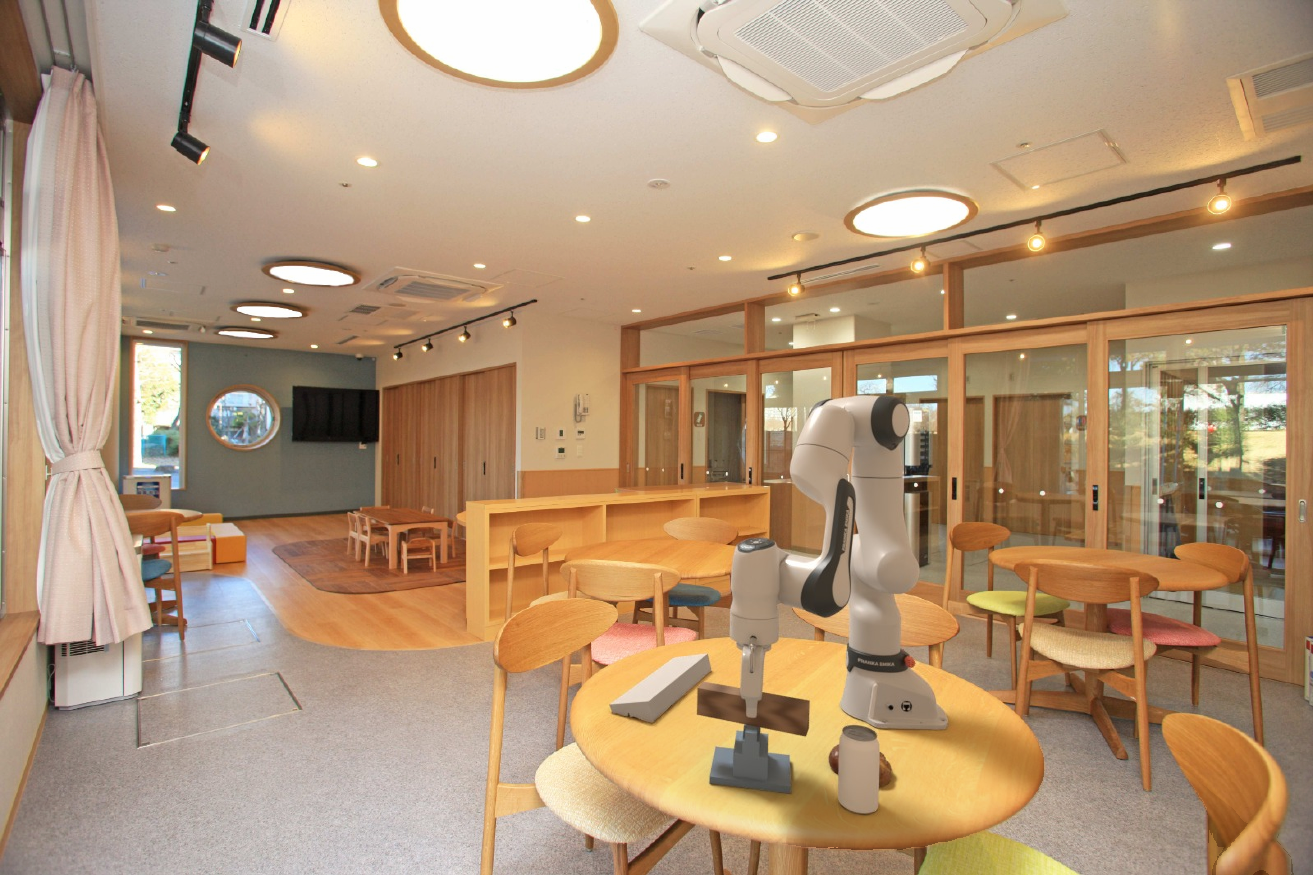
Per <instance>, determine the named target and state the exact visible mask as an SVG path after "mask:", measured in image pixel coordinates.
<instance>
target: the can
mask: <svg viewBox="0 0 1313 875" xmlns="http://www.w3.org/2000/svg"><path fill="white" fill-rule="evenodd" d="M838 739H839V743H838V744H839V771H838V775H837V776H838V781H837V782H838V783H837V785H838V787H837V799H838V802H839V803H840V805H841V806H842V807H843V808H844V809H845V810H847V811H849V812H851V813H854V814H858V815H870V814H873V813H875V812H876V811H877V810H878V808H879V791H880V790H879V789H880V788H879V787H880V786H879V758H880V752H881V750H880V748H881V747H880V745H881V744H880V741H879V740H878V734H877V732H876V731H875V730H874V729H873V728H870V727H868V726H865V725H861V724H859V725H858V724H849V725H848V724H847V725H845V726H844V727H842V729H841V734H840V736H839V738H838Z"/></svg>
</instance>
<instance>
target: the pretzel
mask: <svg viewBox="0 0 1313 875" xmlns="http://www.w3.org/2000/svg"><path fill="white" fill-rule="evenodd" d="M828 765H829V767H830V769H831V770H832V771H833V772H834V773H836V774H838V771H839V743H838V744H836V745H835V746H833V748H832V749H831V750H830V751H829V754H828ZM892 770H893V769H892V765H891V763H890V762H889V761H888V760H887V758H886V756H885V754H884V753H883V752H882V751H880V758H879V787H883V786H887V785H888V784H889V783H890V782H891V781H892V780H891V779H892V776H891V773H892Z"/></svg>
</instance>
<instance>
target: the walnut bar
mask: <svg viewBox="0 0 1313 875" xmlns="http://www.w3.org/2000/svg"><path fill="white" fill-rule="evenodd" d="M696 693H697V696H696V716H701V717H706V718H707V717H708V718H711V719H712V718H713V719H717V720H721V721H727V722H731V723H737V724H741V725H744V724H745V725H750V726H755V727H760V728H761V729H765V730H771V731H775V732H780V733H785V734H792V735H795V736H800V737H804V738H805V737H807V735H808V733H809V729H810V708H811V707H810V706H811V705H810V699H809V700H808V699H804V698H797V697H793V696H786V695H781V694H775V693H769V692H763V691H762V698H761V700H758V702H757V716H756V717H755V718H751V717H747V715H746V700H745V699H742V698H741V694H740V687H738V686H737V687H735V686H730V685H726V684H725V685H724V684H721V683H720V684H719V683H713V682H707V681H705V680H704V681H702V682H701V683H700V684H699V686H698V687H697V692H696Z"/></svg>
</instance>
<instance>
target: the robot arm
mask: <svg viewBox="0 0 1313 875" xmlns="http://www.w3.org/2000/svg"><path fill="white" fill-rule="evenodd" d="M910 424H911V418H910V412H909V408H908V406H907V405H906V403H905V402H904V401H903V400H902V399H901V398H899V397H896V396H893V395H887V394H886V395H885V394H882V395H865V394H864V395H863V394H862V395H860V394H859V395H853V396H846V397H840V398H828V399H822V400H819V401H818V402H816V403H815V404H814V405H813V406H812V408H811V409H810V411H809V412H808V418H807V419H806V421H805V423H804V425H803V427H802V430H801V431H800V434H799V436H798V438H797V441H796V445H795V448H794V451H793V454H792V456H791V460H790V464H789V474H790V478H791V480H792V482H793V484H794V486H795V487H796V489H797V490H798V491H799V492H801V493H802V494H803V495H805V496H806V497H808V498H809V499H811V500H812V501H814V502H816V503H817V504H818V505H821V506H822V507H823V509H824V510H825V516H826V517H825V526H824V535H823V542H822V550H821V554H820V555H819V556H818V557H815V558H814V557H810V556H804V555H800V554H799V555H798V554H796V553H791V552H788V551H785V550H783V549H781V548H780V547H779V546H778V545H777V542H776V541H775V540H773V539H770V538H767V537H754V538H752V537H751V538H746V539H744V540H742V541H740V542H738V543H737V544H736V546H735V549H734V553H733V556H732V561H731V562H732V563H731V570H730V571H731V572H730V591H731V595H732V602H731V605H730V608H729V638H730V639H731V640H732V641H734V642H735V644H736V648H738V649H739V650H741V651H742V652H741V658H740V660H741V661H740V683H739V685H740V687H739V688H740V694H741V698H742V699H745V700H746V715H747V717H751V718H755V717H756V716H757V702H758V700H761V698H762V692H763V688H764V674H765V672H764V670H765V669H764V668H765V659H766V653H767V652H770V651H771V649H772V645H774V644H776V643H778V641H779V639H780V638H779V634H780V633H779V630H780V610H779V606H778V604H782V605H785V606H788V607H791V608H795V609H800V610H802V611H805V612H808V613H810V614H813V615H816V616H818V617H821V618H825V619H827V618H831V617H832V616H834V615H837V614H838V613H840V612H841V611H842V610H844V608H846V606H847V605H848V611H849V612H848V614H849V616H848V620H849V621H848V623H849V624H848V627H849V628H848V643H847V644H846V650H845V668H846V677H845V678H846V679H845V685H844V688H843V693H842V697H841V700H840V703H839V707H840V708H841V709H842V711H844V712H845V713H846V714H847V715H849V716H851V717H854V718H855V719H858V720H861V721H864V722H865V723H867V724H869V725H871V726H873V727H874V728H877V729H898V730H899V729H902V730H903V729H905V730H907V729H908V730H945V729H947V728H948V727H949V718H948V716H947V713H946V711H945V710H944V709H943V708H942V707H941V706H940V705H939V704H938V703H937V698H936V695H935V692H934V690H933V688H932V686H931V685H930V684H929V683H928V682H927V681H926V680H925V679H924V678H923V677H921V676H920V675H919V674H918V673H917V672H915V671H914V670H913V668H915V666H916V660H915V659H914V658H913V657H912V656H910V654H909V653H908V651H906V650H905V649H904V648H901V645H902V644H901V643H902V642H901V640H902V639H901V638H902V637H901V636H902V616H901V611H900V610H899V607H898V604H897V602H896V598H895V595H902V594H906V593H908V592H910V591H911V590H913V588H914V587H915V586H916V585H917V583H918V581H919V579H920V574H921V570H920V565H919V562H918V559H916V557H915V555H914V553H913V550H912V547H911V543H910V539H909V535H908V530H907V526H906V521H905V514H904V488H903V487H904V483H903V482H904V480H903V479H904V473H903V472H904V470H903V469H904V468H903V457H902V449H901V443H902V442H903V440H904V439H905V438H906V436H907V435H908V433H909V429H910V426H911V425H910ZM851 456H852V457H851ZM850 459H851V466H850V467H851V470H850V471H851V472H850V476H851V477H850V480H851V482H850V481H849V478H848V470H849V469H848V468H849V464H850ZM855 523H856V528H857V533H855V534H854V531H855Z"/></svg>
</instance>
